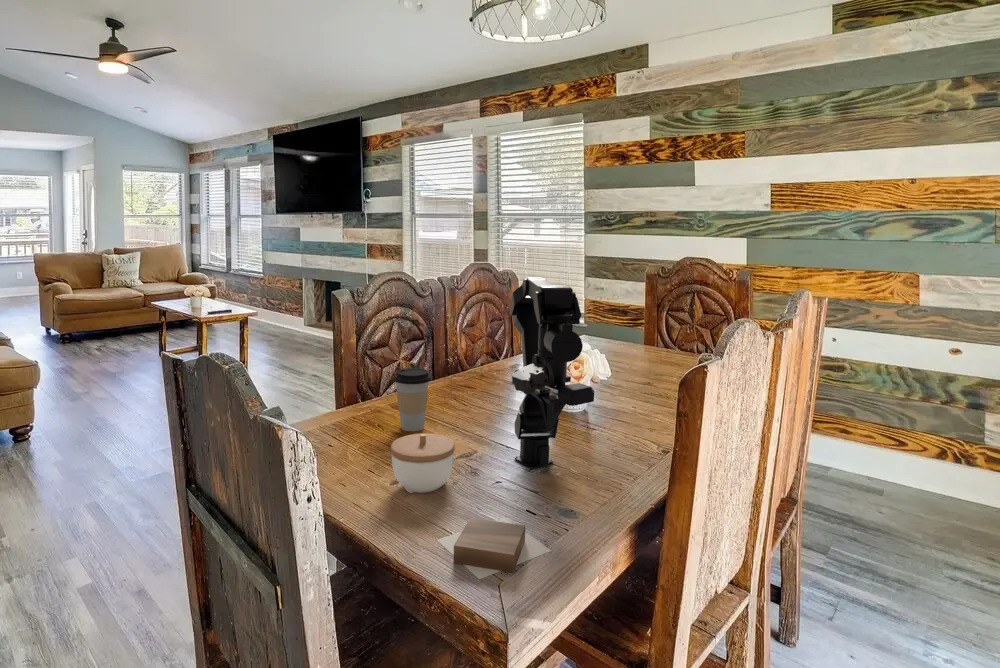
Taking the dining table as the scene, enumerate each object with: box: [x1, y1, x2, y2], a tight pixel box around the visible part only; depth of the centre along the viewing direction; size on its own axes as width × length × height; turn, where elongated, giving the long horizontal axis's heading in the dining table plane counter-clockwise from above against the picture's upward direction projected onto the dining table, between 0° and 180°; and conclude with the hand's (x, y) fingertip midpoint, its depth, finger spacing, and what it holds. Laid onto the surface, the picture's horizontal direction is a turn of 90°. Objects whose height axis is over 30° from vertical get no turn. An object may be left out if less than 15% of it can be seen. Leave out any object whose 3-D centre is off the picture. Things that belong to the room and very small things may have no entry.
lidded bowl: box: [390, 433, 456, 494], centre depth 117 cm, size 13×13×11 cm
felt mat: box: [436, 517, 552, 580], centre depth 96 cm, size 13×14×1 cm
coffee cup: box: [393, 367, 432, 432], centre depth 150 cm, size 9×9×15 cm
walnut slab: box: [453, 517, 526, 574], centre depth 94 cm, size 3×10×9 cm
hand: (549, 426), depth 116 cm, fingers closed
